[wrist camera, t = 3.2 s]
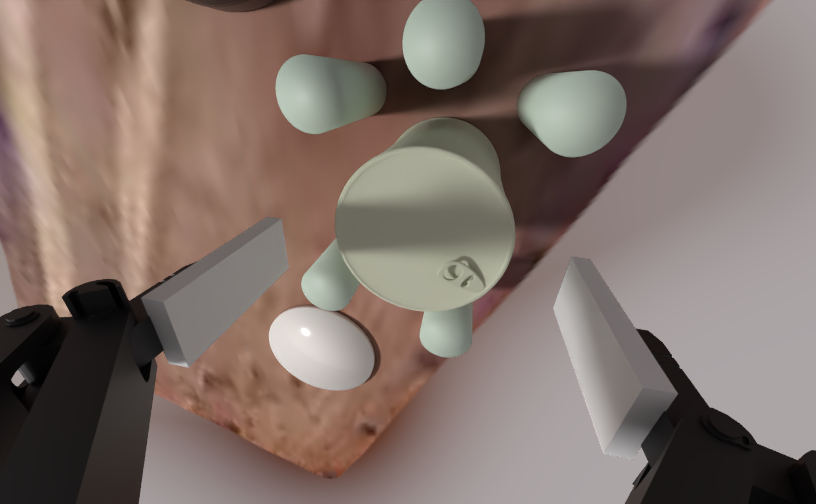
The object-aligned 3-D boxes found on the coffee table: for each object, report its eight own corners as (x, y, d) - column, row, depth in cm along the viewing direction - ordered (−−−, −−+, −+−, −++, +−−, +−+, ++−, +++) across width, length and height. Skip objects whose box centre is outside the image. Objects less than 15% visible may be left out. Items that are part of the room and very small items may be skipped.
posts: (348, 270, 32) (307, 332, 24) (337, 19, 22) (261, -14, 14) (518, 296, 30) (533, 373, 22) (591, 28, 20) (667, -4, 12)
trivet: (279, 375, 42) (277, 379, 42) (263, 296, 36) (260, 300, 35) (374, 394, 40) (373, 399, 40) (375, 315, 34) (373, 319, 34)
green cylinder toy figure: (446, 249, 29) (431, 344, 19) (365, 183, 27) (298, 248, 17) (526, 172, 25) (563, 240, 14) (434, 89, 23) (401, 97, 13)
